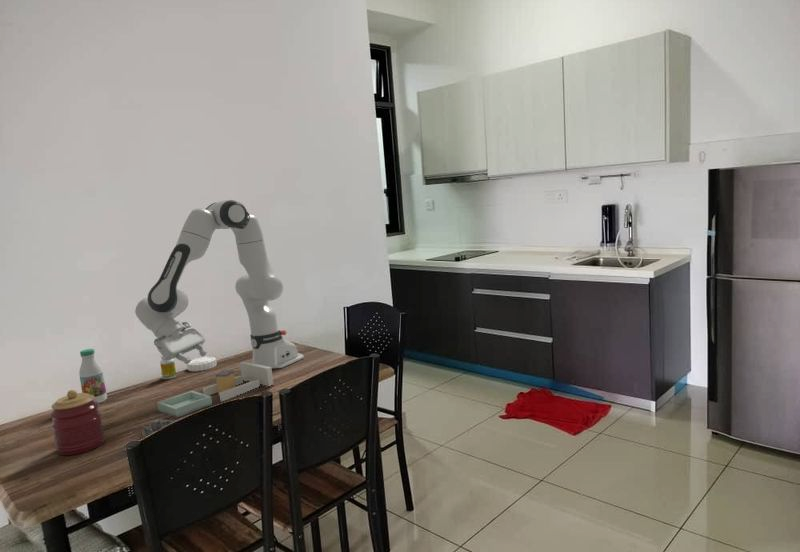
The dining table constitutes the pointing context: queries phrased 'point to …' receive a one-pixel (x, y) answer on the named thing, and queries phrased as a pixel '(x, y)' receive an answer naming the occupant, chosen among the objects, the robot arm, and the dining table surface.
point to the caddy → (225, 380)
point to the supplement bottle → (168, 368)
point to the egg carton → (154, 426)
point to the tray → (184, 403)
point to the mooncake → (201, 364)
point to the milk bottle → (92, 376)
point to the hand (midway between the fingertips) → (197, 358)
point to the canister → (76, 423)
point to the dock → (248, 373)
